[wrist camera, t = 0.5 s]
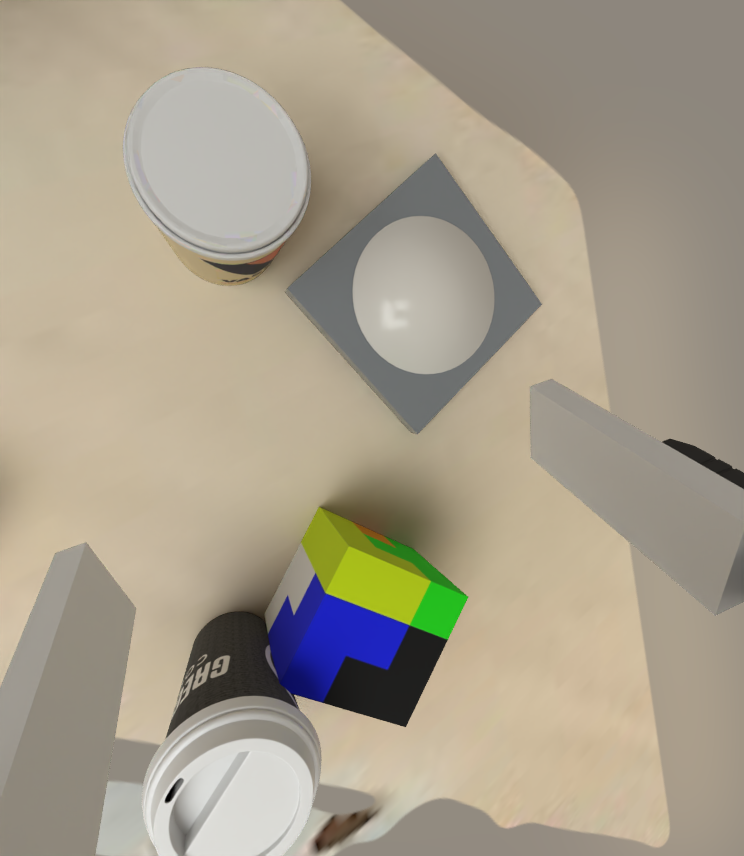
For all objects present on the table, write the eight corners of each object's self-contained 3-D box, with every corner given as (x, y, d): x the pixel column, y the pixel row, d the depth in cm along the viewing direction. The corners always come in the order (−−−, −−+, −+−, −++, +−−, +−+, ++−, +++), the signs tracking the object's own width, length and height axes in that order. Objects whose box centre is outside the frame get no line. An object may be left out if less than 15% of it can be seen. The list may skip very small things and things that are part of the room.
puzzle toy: (264, 613, 38) (277, 689, 28) (318, 506, 39) (348, 546, 29) (364, 648, 41) (405, 727, 32) (413, 549, 42) (468, 597, 32)
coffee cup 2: (249, 570, 37) (263, 685, 23) (312, 651, 40) (361, 801, 25) (144, 647, 35) (88, 824, 21) (218, 727, 38) (212, 936, 23)
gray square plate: (284, 292, 36) (287, 287, 34) (427, 161, 39) (436, 152, 37) (410, 432, 40) (418, 434, 39) (531, 306, 43) (543, 303, 41)
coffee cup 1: (226, 322, 35) (225, 292, 24) (127, 224, 32) (72, 136, 21) (310, 243, 36) (348, 179, 25) (222, 142, 34) (219, 19, 22)
